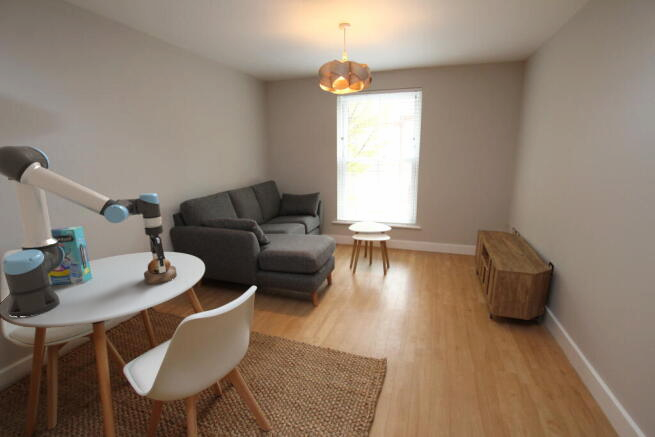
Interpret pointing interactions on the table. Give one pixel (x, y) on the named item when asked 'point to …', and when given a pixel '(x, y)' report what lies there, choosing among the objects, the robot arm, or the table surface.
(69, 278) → the game box
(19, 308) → the robot arm
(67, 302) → the table surface
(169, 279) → the walnut stand
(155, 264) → the bread roll
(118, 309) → the table surface
